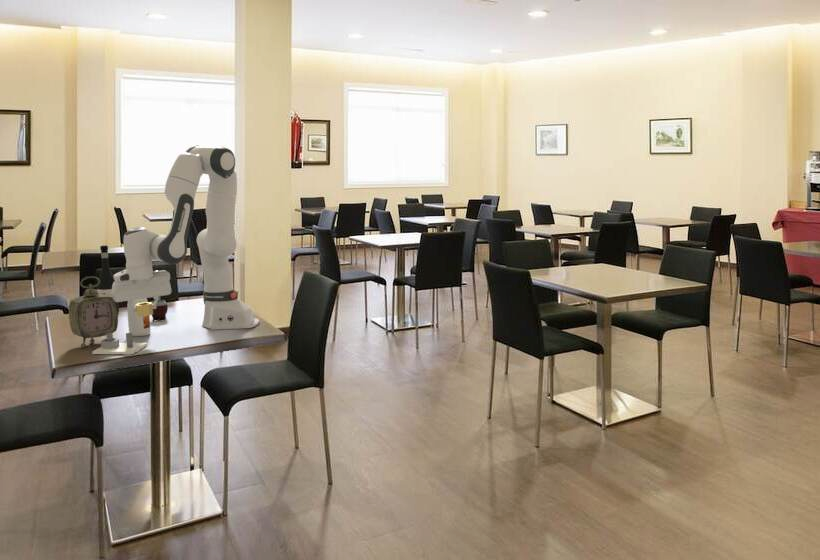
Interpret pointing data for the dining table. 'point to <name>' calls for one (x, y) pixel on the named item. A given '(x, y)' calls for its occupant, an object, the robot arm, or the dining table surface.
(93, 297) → the tabletop clock
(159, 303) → the mate gourd
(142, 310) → the brass gear
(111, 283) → the wine bottle
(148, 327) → the milk bottle
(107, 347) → the gear board
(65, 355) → the dining table surface
